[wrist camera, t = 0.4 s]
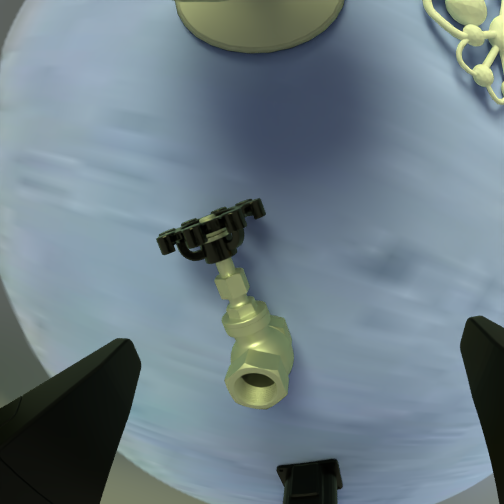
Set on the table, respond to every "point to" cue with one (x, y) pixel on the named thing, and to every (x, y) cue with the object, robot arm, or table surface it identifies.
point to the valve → (239, 305)
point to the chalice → (257, 22)
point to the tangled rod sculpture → (474, 36)
